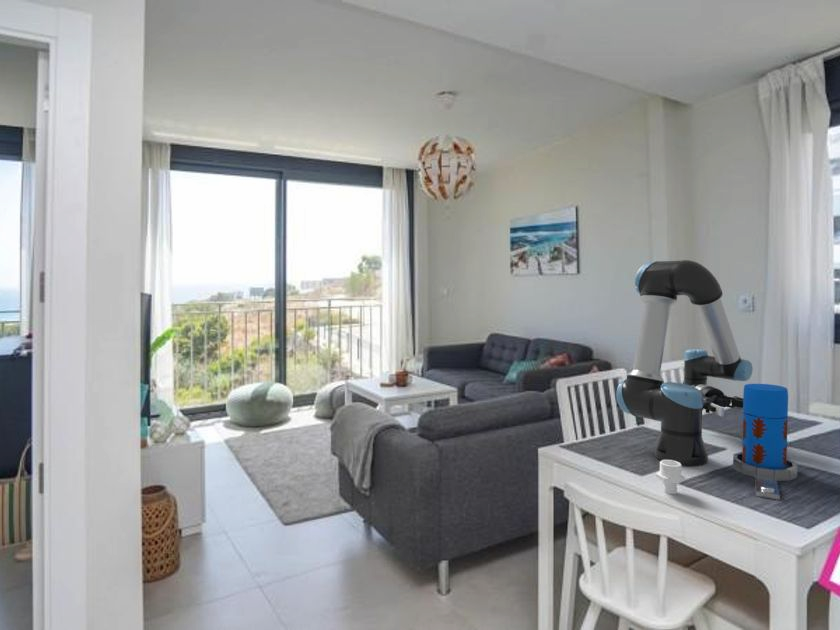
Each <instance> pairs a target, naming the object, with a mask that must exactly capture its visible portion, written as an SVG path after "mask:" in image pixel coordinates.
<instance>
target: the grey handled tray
mask: <svg viewBox="0 0 840 630" xmlns="http://www.w3.org/2000/svg"><path fill="white" fill-rule="evenodd" d="M732 459H733V460H732V462H733V463H732V468H733V469H734V470H736V471H737V472H738V473H740V474H742V475H745V476H748V477H752V478H754V486H755V496H756V497H758V498H759V497H761V498H765V499H771V500H777V501H780V500H781V499H780V498H781V497H780V490H779V485H778V482H781V481H783V482H784V481H785V482H786V481H787V482H788V481H792V480H795V479H797V478H798V465H797V462H795V461H793V460H791V459H789V458H788V456H787V462H786V469H770V468H763V467H757V466H753V465H750V464H747V463H744V462H743V458H742V451H739V452H736V453H733V457H732Z"/></svg>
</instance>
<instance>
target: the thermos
mask: <svg viewBox="0 0 840 630" xmlns="http://www.w3.org/2000/svg"><path fill="white" fill-rule="evenodd" d="M788 391H789V390H788V388H787V387H784V386H782V385H777V384H769V383H747V384H744V386H743V397H742V398H743V408H742V410H743V411H742V444H741V445H742V450H741V452H742V458H743V462H744V463H747V464H750V465H753V466H757V467H763V468H770V469H786V462H787V457H788V453H787V452H788V451H787V450H788V449H787V448H788V423H789V421H788V419H789V418H788V416H789V415H788V414H789V392H788Z"/></svg>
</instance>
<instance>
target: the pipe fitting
mask: <svg viewBox="0 0 840 630" xmlns="http://www.w3.org/2000/svg"><path fill="white" fill-rule="evenodd" d="M655 477H656V478H657V479H658V480H660V481H663V487H662V488H663V492H664V493H665V494H668V495H676V494H678V493H677V492H678V484H681V483H682V482H684V481H685V480H686V475H684V474H683V473H682V465H681V463H679V462H677V461H674V460H660V461H659V470H658V471H657V472H656V473H655Z"/></svg>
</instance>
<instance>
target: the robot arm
mask: <svg viewBox="0 0 840 630" xmlns="http://www.w3.org/2000/svg"><path fill="white" fill-rule="evenodd" d="M634 286H635V290H636V292H637V294H639V298H640V300H641V302H642V303H643V305H642V310H641V315H640V316H641V317H640V322H639V329H638V336H637V343H636V347H635V355H634V360H633V366H632V370H631V371H630V372H628V373H627V374H626V379H623V380H620V382H619V384H618V385H617V388H616V401H617V405H618V406H619V408H620V410H621V411H622V412H624V413H625V414H627V415H631V416H634V417H639V418H642V419H643V418H644V419H648V420H653V421H657V422H660V433H659V437H658V439H657V441H656V444H655V447H654V456H655V458H656V459H657V460H660V461H662V460H674V461H677V462H679V463H681V466H685V467H698V466H705V465H706V464H708V462H709V454H708V450H707V447H706V445H705V442H704V440H703V411H704V410H705V413H706V414H710V412H711V413H713V414H715V415H718V416H720V417H723V418H724V417H725V408H732V409H734V408H738V409H743V397H739V396H736V395H735V396H728V395H726V394H725V393H724V391H722V390H721V389H720V388H716V387H714V386H711V385H710V384H708V377H709V378H717V379H723V380H730V381H734V382H735V381H737V382H748V381H749V380H750V379H751V378H752V374H753V364H752V362H751V361H750V360H748V359H743V358H741V355H740V353H739V349H738V345H737V344H736V341H735V337H734V334H733V332H732V328H731V325H730V322H729V320H728V316H727V313H726V311H725V307H724V305H723V302H722V297H723V291H722V287H721V284H720V283H719V280H717V278H716V277H715V276H714V275H713V274H712V272H711V271H710V270H709V269H708V268H707V267H705V266H704V265H702V264H700V263H699V262H696V261H695V260H690V259H689V260H688V259H683V260H661V261H658V260H656V261H653V262H646V263H644V264H643V265H642V266H640V267H639V269H638V270H637V272H636V274H635V279H634ZM678 296H686V297H688V298H689V300H690V303H691V304H692V305H693V306H695V307H696V311H697V313H698V315H699V318H700V321H701V323H702V326H703V329H704V332H705V335H706V338H707V342H708V343H709V345H710V348H711V351H712V354H713V355H709V354H708V350H706V349H701V348H700V349H699V348H688V349H686V350H685V351H684V360H683V361H684V363H683V364H684V366H683V367H684V370H683V371H684V377H683V380H682V381H681V382H674V381H668V382H667V381H666V382H665V380H664V379H663V378H662V376H661V370H662V363H663V357H664V351H665V346H666V339H667V338H666V337H667V334H668V333H667V332H668V325H669V320H670V312H671V307H672V306H673V305H675V304H676V303H677V300H678Z"/></svg>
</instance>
